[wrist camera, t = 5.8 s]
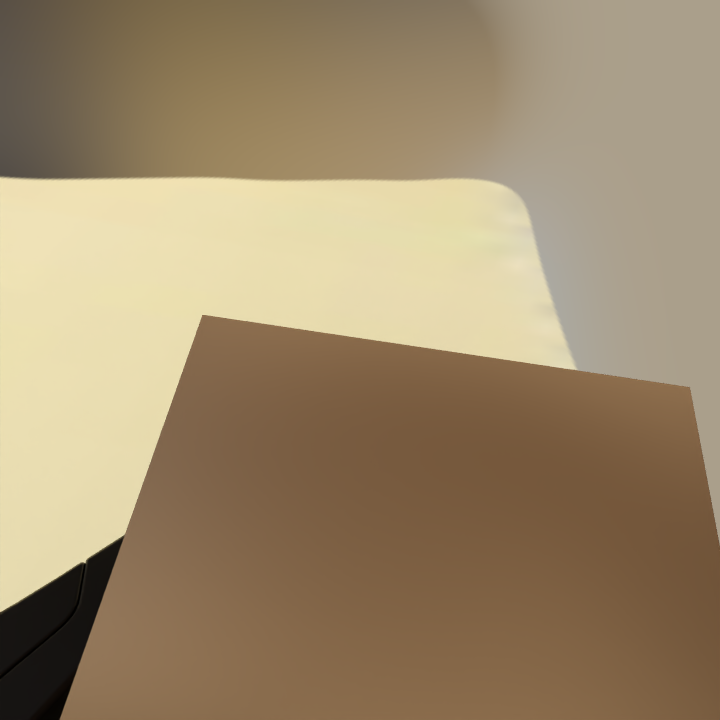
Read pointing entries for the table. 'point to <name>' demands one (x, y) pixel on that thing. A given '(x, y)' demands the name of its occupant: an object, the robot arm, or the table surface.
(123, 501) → the table surface
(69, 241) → the table surface
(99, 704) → the walnut block
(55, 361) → the table surface
